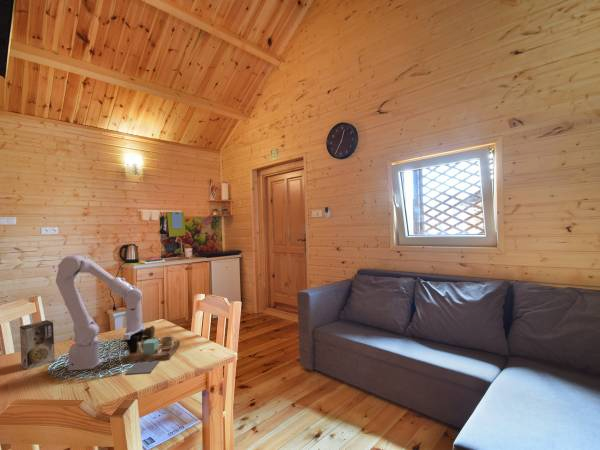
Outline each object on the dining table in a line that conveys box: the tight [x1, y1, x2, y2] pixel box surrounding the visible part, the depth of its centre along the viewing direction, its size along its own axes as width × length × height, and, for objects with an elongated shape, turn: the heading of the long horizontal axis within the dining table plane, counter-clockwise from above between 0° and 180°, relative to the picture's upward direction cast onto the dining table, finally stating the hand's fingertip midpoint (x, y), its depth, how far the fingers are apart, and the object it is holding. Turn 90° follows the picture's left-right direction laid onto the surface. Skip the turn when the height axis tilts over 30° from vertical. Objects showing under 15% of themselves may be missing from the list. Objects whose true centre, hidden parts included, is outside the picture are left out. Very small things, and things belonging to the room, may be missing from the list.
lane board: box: [121, 340, 181, 364], centre depth 130 cm, size 18×14×2 cm
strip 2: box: [158, 334, 175, 348], centre depth 134 cm, size 11×4×5 cm, turn 95°
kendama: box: [126, 325, 156, 347], centre depth 146 cm, size 6×10×20 cm
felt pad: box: [124, 360, 160, 376], centre depth 117 cm, size 9×9×1 cm
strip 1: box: [128, 341, 162, 356], centre depth 127 cm, size 12×4×5 cm, turn 95°
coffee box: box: [19, 319, 56, 370], centre depth 124 cm, size 9×6×16 cm
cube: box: [142, 338, 159, 355], centre depth 127 cm, size 4×4×4 cm
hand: (135, 350), depth 126 cm, fingers closed on strip 1, 2 cm apart
